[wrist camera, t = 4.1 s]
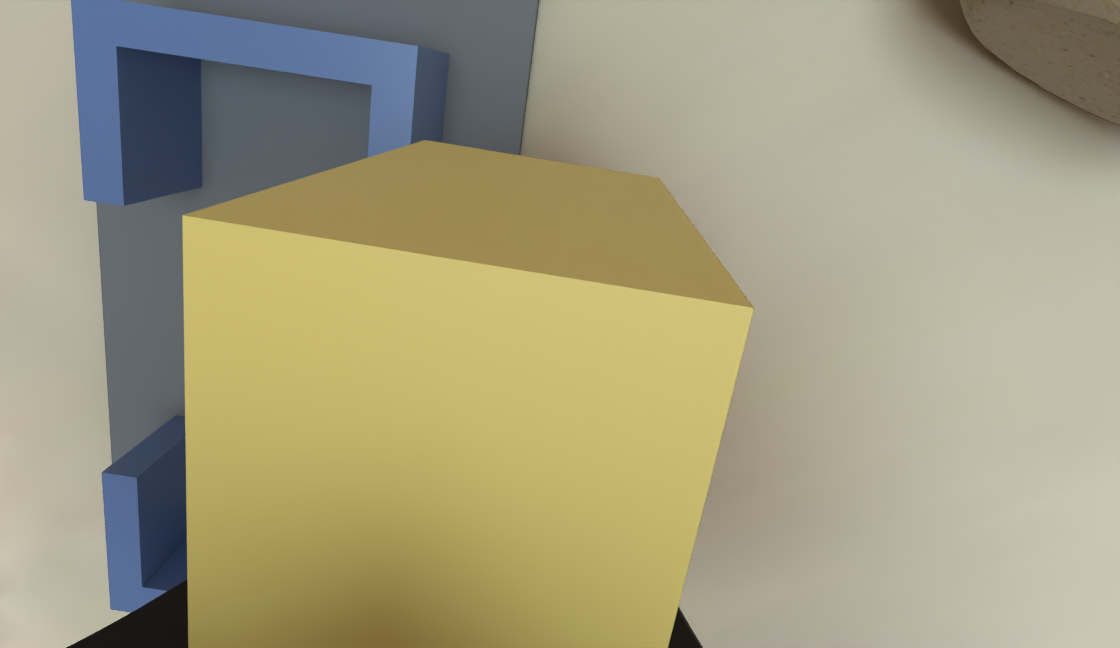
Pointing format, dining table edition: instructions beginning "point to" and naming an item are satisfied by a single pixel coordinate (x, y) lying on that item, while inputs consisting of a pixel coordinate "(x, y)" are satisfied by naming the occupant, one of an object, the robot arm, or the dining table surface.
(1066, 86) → the ceramic mug
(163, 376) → the mat
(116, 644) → the robot arm
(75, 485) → the dining table surface
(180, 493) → the end cap
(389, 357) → the slat
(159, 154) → the end cap
